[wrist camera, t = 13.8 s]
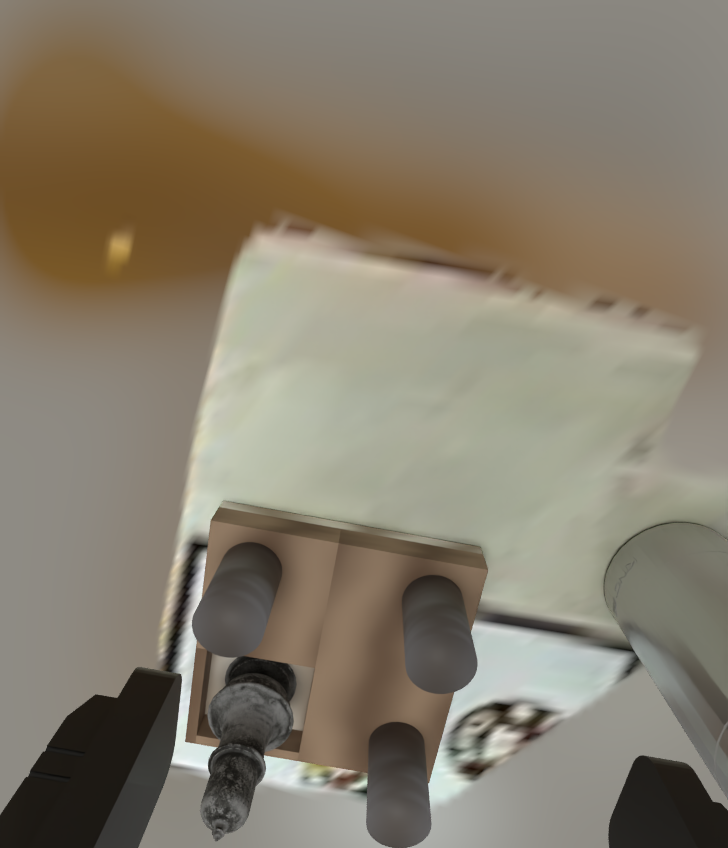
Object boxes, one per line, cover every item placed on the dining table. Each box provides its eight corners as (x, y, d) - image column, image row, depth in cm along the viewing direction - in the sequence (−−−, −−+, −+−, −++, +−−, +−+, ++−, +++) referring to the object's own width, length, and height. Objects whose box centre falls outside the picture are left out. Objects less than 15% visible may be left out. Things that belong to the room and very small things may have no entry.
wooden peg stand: (480, 547, 40) (507, 628, 31) (425, 749, 45) (436, 866, 37) (223, 500, 40) (179, 570, 31) (197, 710, 45) (153, 819, 36)
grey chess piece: (310, 661, 42) (283, 817, 31) (287, 723, 44) (253, 892, 32) (233, 638, 42) (175, 786, 30) (212, 700, 43) (151, 863, 32)
